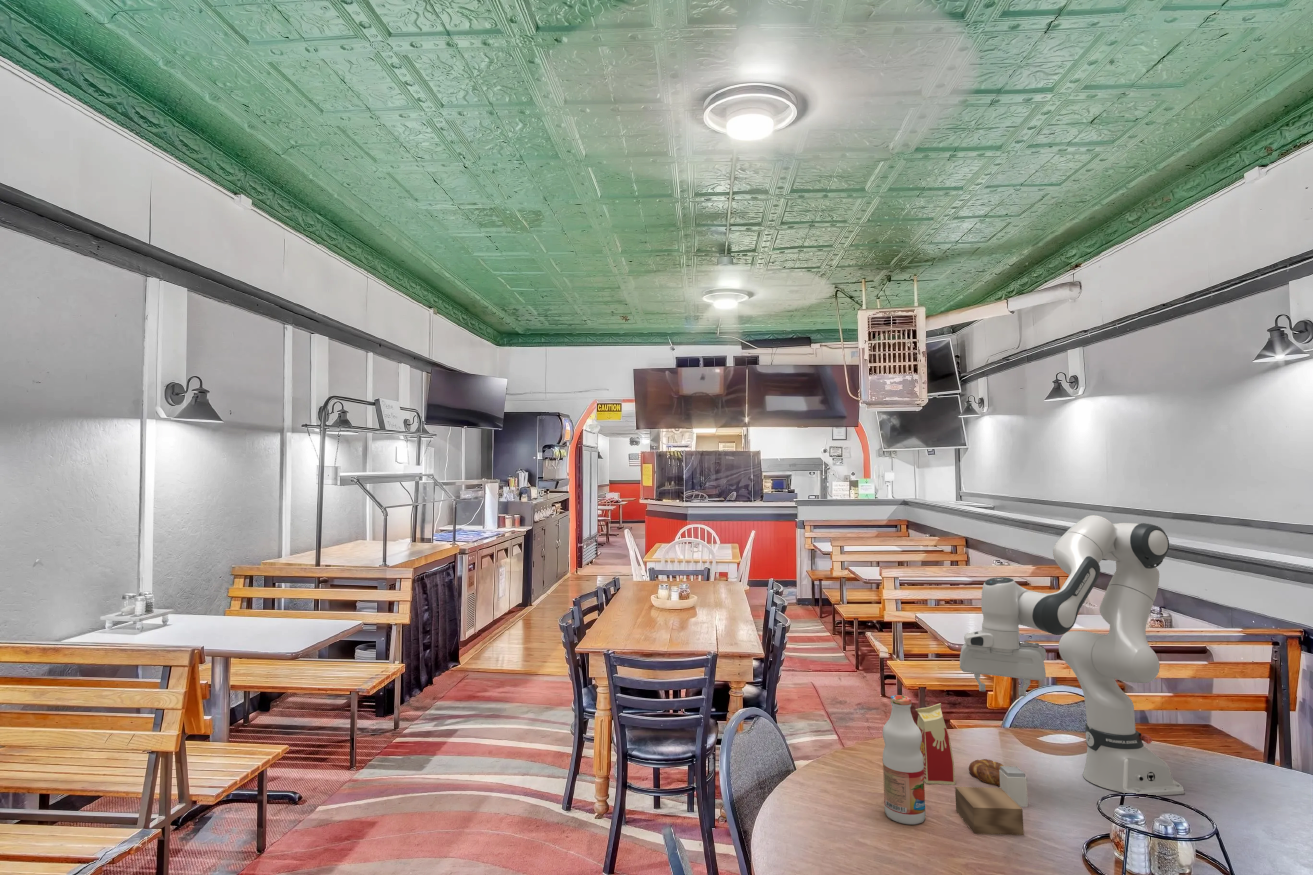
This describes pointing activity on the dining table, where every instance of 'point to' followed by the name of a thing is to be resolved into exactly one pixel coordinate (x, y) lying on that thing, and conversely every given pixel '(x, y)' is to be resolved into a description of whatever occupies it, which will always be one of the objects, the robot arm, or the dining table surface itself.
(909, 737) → the fruit juice
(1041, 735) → the dining table surface
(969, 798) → the block
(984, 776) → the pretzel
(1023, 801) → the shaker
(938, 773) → the milk carton
